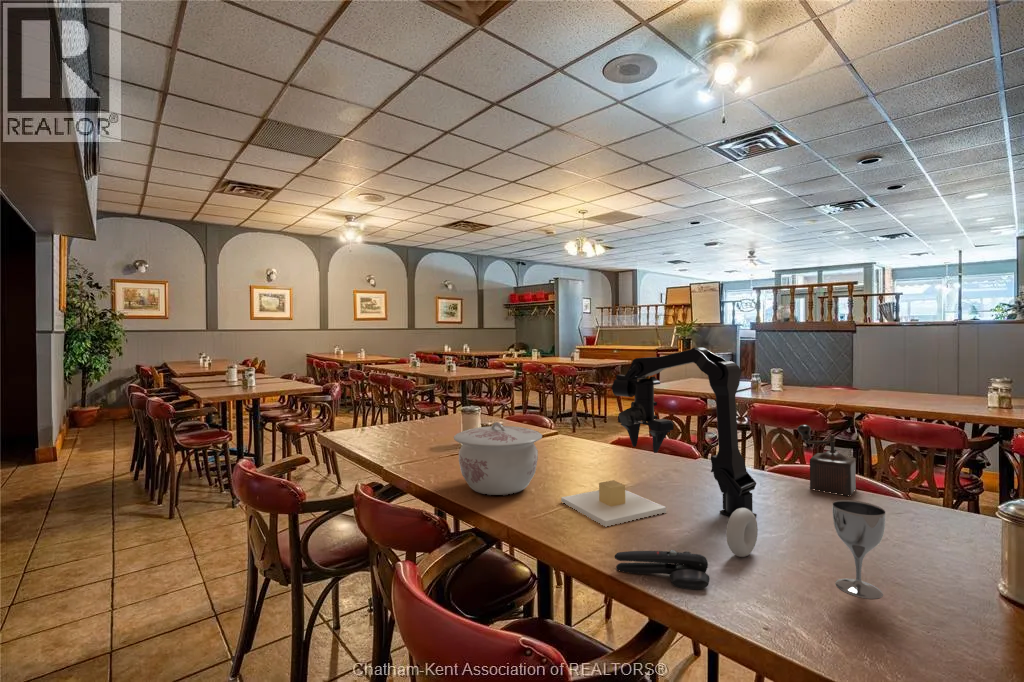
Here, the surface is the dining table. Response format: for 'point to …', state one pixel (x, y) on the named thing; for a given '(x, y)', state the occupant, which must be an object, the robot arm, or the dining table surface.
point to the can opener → (668, 566)
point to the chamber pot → (498, 458)
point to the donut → (742, 532)
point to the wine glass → (859, 540)
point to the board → (613, 508)
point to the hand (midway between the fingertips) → (644, 449)
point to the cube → (612, 493)
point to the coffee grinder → (830, 468)
